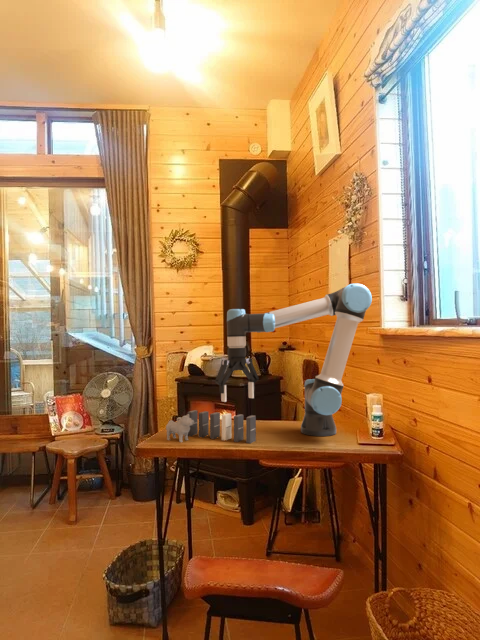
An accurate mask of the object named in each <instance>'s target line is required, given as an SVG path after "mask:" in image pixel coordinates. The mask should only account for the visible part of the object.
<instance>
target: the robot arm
mask: <svg viewBox="0 0 480 640" xmlns="http://www.w3.org/2000/svg"><path fill="white" fill-rule="evenodd" d="M372 301H373V297H372V293H371V291H370V289H369V288H368V287H367V286H365V285H364V284H362V283H350V284H348V285H346V286H344V287H342V288H340V289H338V290H336V291H334V292H331V293H327V294H325V296H324V297H322V298H317V299H313V300H310V301H307V302H303V303H299V304H295V305H290V306H288V307H283V308H279V309H276V310H271V311H269V312H264V313H246V309H244V308H231V309H228V310H227V312H226V330H227V331H226V336H227V339H226V340H227V347H228V348H227V358H228V359H222V360H221V363H220V368H219V371H217V375H216V378H215V380H214V383H215V385H216V384H217V385H218V387H219V394H220V399H221V402H224V403H226V402H227V401H228V400H227V399H228V398H227V384H226V383H227V381H228V379H230V376H231V374H232V373H234V371H235V372H236V371H242V373H243V374H244V375H245V377H246V378H247V379H248V383H247V385H248V386H247V389H248V393H247V394H248V398H249V399H255V389H256V383H257V382H258V381H259V379H260V378H259V375H258V373H257V371H256V368H255V365H254V364H253V359H252V358H249V357H247V358H246V356H247V348H246V346H247V341H246V340H247V337H246V336H247V333H271V332H274V331H275V329H277V328H282V327H285V326H289V325H293V324H296V323H301V322H304V321H310V320H311V319H316V318H320V317H325V316H327V315H328V316H331V317H333V316H336V321H335V324H334V327H333V331H332V334H331V337H330V341H329V344H328V348H327V351H326V354H325V357H324V359H323V365H322V368H321V371H320V374H317V375H315V378H312V379H311V378H310V379H306V380H304V385H303V388H304V416H303V419H302V422H301V425H300V433H301V434H304V435H308V436H313V437H314V436H315V437H327V436H328V437H331V436H334V435H336V434H337V426H336V422H335V420H334V417H333V415H334V414H336V413H337V412H338V411H339V409H340V408H341V406H342V402H343V401H342V400H343V399H342V398H343V397H342V392H343V389H344V386H345V385H344V383H343V381H342V378H343V375H344V373H345V370H346V365H347V362H348V359H349V355H350V351H351V349H352V345H353V342H354V338H355V335H356V331H357V329H358V325H359V324H360V323H361V322H363V321H364V318H365V315H366V313H367V310H368V309H369V308H370V306H371V305H372Z"/></svg>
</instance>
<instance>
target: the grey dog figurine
mask: <svg viewBox="0 0 480 640" xmlns="http://www.w3.org/2000/svg"><path fill="white" fill-rule="evenodd" d="M193 424H194V420H192V419H191V418H189V414H188V413H186V415H183V416H182V417H181V416H179V417H177V418H176V421H174V420H169V421H168V423H167V424H166V425H165V429H166V441H171V440H172V439H176V438H177V435H178V440H179V441H178V442H179V443H183V438H184V440H185V441H189V436H188V432H189V431H190V426H191V425H193ZM176 434H177V435H176ZM171 435H172V439H171V438H170V437H171Z"/></svg>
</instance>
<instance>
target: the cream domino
mask: <svg viewBox="0 0 480 640" xmlns="http://www.w3.org/2000/svg"><path fill="white" fill-rule="evenodd" d="M232 438H233V437H232V413H230V412H229V413H227V412H226V413H223V414H222V415H221V441H225V440H226V441H228V440H230V439H232Z"/></svg>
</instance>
